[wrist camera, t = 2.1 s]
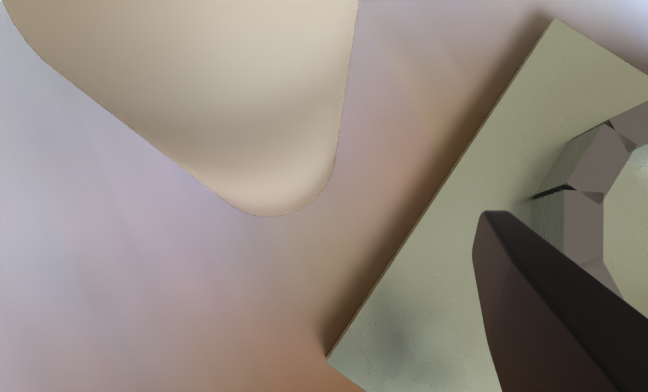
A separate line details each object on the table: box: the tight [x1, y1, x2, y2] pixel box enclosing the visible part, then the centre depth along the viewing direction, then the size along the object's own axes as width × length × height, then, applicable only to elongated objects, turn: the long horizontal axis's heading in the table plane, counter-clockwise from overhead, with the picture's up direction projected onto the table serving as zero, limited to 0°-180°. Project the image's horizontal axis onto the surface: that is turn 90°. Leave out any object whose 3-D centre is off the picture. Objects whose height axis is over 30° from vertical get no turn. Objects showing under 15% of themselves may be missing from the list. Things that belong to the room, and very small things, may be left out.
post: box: [2, 0, 359, 217], centre depth 14 cm, size 5×5×13 cm
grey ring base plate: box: [325, 17, 648, 392], centre depth 18 cm, size 15×14×4 cm
